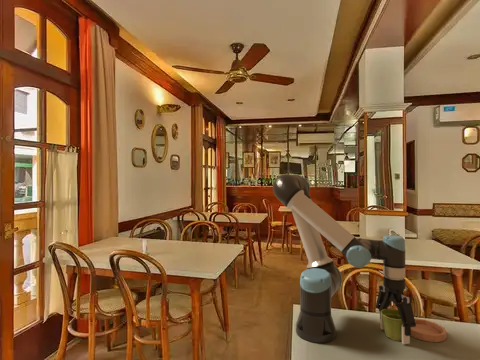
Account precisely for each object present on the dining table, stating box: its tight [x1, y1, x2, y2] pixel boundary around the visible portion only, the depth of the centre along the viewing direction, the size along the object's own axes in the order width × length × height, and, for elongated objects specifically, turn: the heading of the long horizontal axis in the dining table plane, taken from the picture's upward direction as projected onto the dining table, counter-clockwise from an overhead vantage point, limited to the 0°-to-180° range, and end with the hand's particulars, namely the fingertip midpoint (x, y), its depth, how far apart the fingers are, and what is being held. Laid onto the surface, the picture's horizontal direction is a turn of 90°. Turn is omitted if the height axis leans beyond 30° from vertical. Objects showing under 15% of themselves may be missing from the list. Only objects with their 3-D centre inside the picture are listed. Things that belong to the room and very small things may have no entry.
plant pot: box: [381, 308, 404, 342], centre depth 111 cm, size 9×9×9 cm
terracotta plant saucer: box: [406, 317, 448, 343], centre depth 114 cm, size 14×14×2 cm
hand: (394, 335), depth 111 cm, fingers open, 10 cm apart
